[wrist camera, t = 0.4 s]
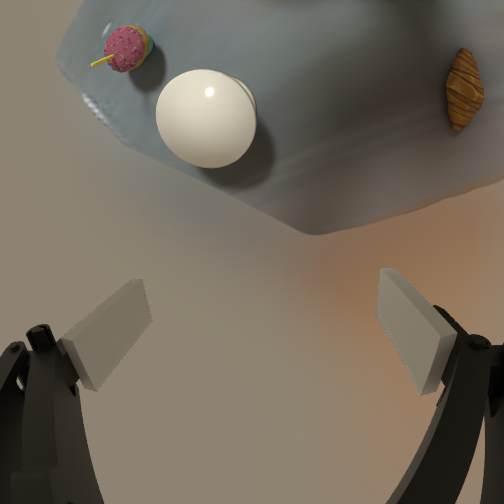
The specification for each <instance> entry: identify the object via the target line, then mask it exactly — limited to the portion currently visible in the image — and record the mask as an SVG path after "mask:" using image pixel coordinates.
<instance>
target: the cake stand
mask: <svg viewBox="0 0 504 504" xmlns="http://www.w3.org/2000/svg"><path fill="white" fill-rule="evenodd" d="M156 121H157V126H158V130H159V132H160V135H161V137H162V139H163V141H164V142H165V144H166V145H167V146H168V148H169V149H170V150H171V151H172V152H173V153H174V154H175V155H176V156H178V157H179V158H181V159H182V160H184V161H185V162H187V163H190V164H192V165H195V166H198V167H203V168H218V167H223V166H226V165H229V164H231V163H233V162H235V161H236V160H238V159H239V158H240V157H241V156H242V155H243V154H244V153H245V152H246V151H247V149H248V148H249V146H250V145H251V143H252V141H253V139H254V136H255V133H256V127H257V116H256V102H255V98H254V96H253V93H252V92H251V90H250V89H249V88H248V86H247V85H246V84H245V83H243V82H242V81H241V80H239V79H237V78H235V77H232V76H229V75H227V74H225V73H222V72H219V71H216V70H211V69H197V70H193V71H189V72H186V73H183V74H181V75H179V76H177V77H175V78H174V79H173V80H171V81H170V82H169V83H168V84H167V85H166V86H165V88H164V89H163V91H162V92H161V94H160V96H159V99H158V102H157V107H156Z"/></svg>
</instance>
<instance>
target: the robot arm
mask: <svg viewBox="0 0 504 504" xmlns="http://www.w3.org/2000/svg"><path fill="white" fill-rule="evenodd" d="M376 316H377V317H378V319H379V321H380V322H381V324H382V326H383V328H384V329H385V331H386V333H387V334H388V336H389V338H390V340H391V341H392V343H393V345H394V347H395V349H396V350H397V352H398V354H399V356H400V358H401V360H402V361H403V363H404V365H405V367H406V368H407V371H408V373H409V375H410V377H411V378H412V380H413V382H414V384H415V386H416V388H417V390H418V392H419V394H420V396H421V395H425V394H429V393H432V392H436V390H437V388H438V386H439V384H440V381H441V380H442V382H443V384H444V385H445V388H444V390H443V392H442V394H441V396H440V399H439V401H438V403H437V405H436V406H437V408H436V411H435V413H434V416H433V418H432V420H431V423H430V425H429V427H428V430H427V432H426V434H425V436H424V439H423V441H422V443H421V445H420V447H419V449H418V451H417V453H416V455H415V457H414V459H413V460H412V462H411V464H410V466H409V468H408V469H407V471H406V473H405V475H404V476H403V478H402V479H401V481H400V483H399V485H398V486H397V488H396V489H395V491H394V492H393V494H392V495H391V497H390V498H389V500H388V501H387V503H386V504H455V503H456V500H457V498H458V496H459V493H460V491H461V489H462V486H463V484H464V481H465V478H466V476H467V473H468V471H469V467H470V465H471V462H472V459H473V455H474V452H475V448H476V445H477V442H478V438H479V434H480V430H481V426H482V421H483V416H484V418H485V463H484V477H483V487H482V494H481V502H480V504H504V343H503V345H491V343H490V341H489V340H488V339H486V338H485V337H483V336H480V335H476V334H471V335H469V334H467V332H466V331H465V330H464V329H463V328H462V327H461V326H460V325H459V324H458V323H457V322H456V321H455V320H454V319H453V318H452V317H450V315H449V314H448V313H447V312H446V311H445V310H444V309H442V308H441V307H439V306H437V305H433V306H432V305H431V304H430V303H429V302H428V301H427V300H426V299H425V298H424V297H423V296H422V295H421V294H420V293H419V292H418V291H417V290H416V289H415V288H414V287H413V286H412V285H411V284H410V283H409V282H408V281H407V280H406V279H404V277H403V276H401V275H400V274H399V273H398V272H397V271H396V270H395V269H394V268H381V269H380V278H379V289H378V300H377V308H376ZM151 322H152V317H151V313H150V310H149V305H148V301H147V297H146V293H145V289H144V284H143V281H142V279H132V280H130V281H129V282H128V283H126V284H125V285H124V286H123V287H121V288H120V289H119V290H117V291H116V292H115V293H114V294H113V295H111V296H110V297H109V298H108V299H106V300H105V301H104V302H103V303H101V304H100V305H99V306H98V307H96V308H95V309H94V310H93V311H92V312H90V313H89V314H88V315H87V316H86V317H84V318H83V319H82V320H81V321H80V322H78V323H77V324H76V325H75V326H74V327H73V328H71V329H70V330H69V331H68V332H67V333H66V334H64V335H63V336H62V337H61V338H60V339H59V340H58V341H57V342H56V341H55V339H54V336H53V334H52V331H51V329H50V326H49V325H47V324H41V325H37V326H35V327H33V328H31V329H30V330H29V331H28V332H27V333H26V336H27V338H28V340H29V343H30V345H31V347H32V349H33V351H28V350H27V348H26V346H25V343H24V342H22V341H18V342H13V343H11V344H10V345H9V346H8V347H7V348H6V349H5V351H4V352H3V354H2V356H1V357H0V504H104V501H103V498H102V496H101V493H100V490H99V486H98V483H97V480H96V477H95V473H94V470H93V465H92V462H91V458H90V453H89V449H88V445H87V440H86V435H85V429H84V424H83V417H82V411H81V403H80V396H79V389H78V386H77V384H76V382H77V380H78V379H79V378H80V380H81V382H82V384H83V386H84V388H86V389H89V390H93V391H96V392H97V391H98V390H99V388H100V387H101V386H102V384H103V383H104V382H105V380H106V379H107V378H108V377H109V375H110V374H111V373H112V371H113V370H114V369H115V367H116V366H117V365H118V364H119V362H120V361H121V360H122V359H123V357H124V356H125V355H126V353H127V352H128V351H129V350H130V348H131V347H132V346H133V345H134V343H135V342H136V341H137V340H138V338H139V337H140V336H141V335H142V333H143V332H144V331H145V329H146V328H147V327H148V326H149V325H150V324H151ZM17 377H18V379H19V381H20V382H21V384H22V386H23V388H22V390H21V389H20V388H19V386H18V385H17V382H16V380H17Z"/></svg>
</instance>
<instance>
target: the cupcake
mask: <svg viewBox="0 0 504 504" xmlns="http://www.w3.org/2000/svg"><path fill="white" fill-rule="evenodd" d="M107 39H108V40H107V42H106V44H105V50H104V52H105V58H103V59H101V60H98V61H96V62H94V63H92V64H91V66H89V67H88V68H90V67H94V66H96V65H98V64H101V63H103V62H105V61H107V63H108V65H109V66H110V68H112V69H113V70H115V71H118V72H126V71H128V70H132V69H135V68H136V67H138V66H140V65H141V64H142V62H143V61H144V59H145V57H146V56H147V55H149V54H150V52H151V51H152V48H153V40H152V38H151V37H150V36H149V35H148V34H146V31H145V30H144V29H142V28H141V27H138V26H133V25H124V26H121V27H119V28H117V29H116V30H114V31H113V32H112V34H111V35H110V37H109V38H107ZM88 68H87V69H88Z"/></svg>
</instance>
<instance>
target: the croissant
mask: <svg viewBox="0 0 504 504" xmlns="http://www.w3.org/2000/svg"><path fill="white" fill-rule="evenodd" d="M446 94H447V99H448V106H447V109H448V114H449V119H450V124H451V127H452V128H453V129H455V130H461V129H463V128H464V127H465V126H466V125H467V123H468V122H469V121H470V120H471V118H472V117H473V115H474V114H475V112H476V111H478V110H479V109H480V108H481V106H482V103H483V100H484V89H483V86H482V84H481V82H480V77H479V73H478V70H477V66H476V63H475V60H474V58H473V56H472V54H471V52H469V51H468V50H467V49H464V48H461V49H460V50H459V52H458V53H457V55H456V57H455V59H454V61H453V63H452V70H451V71H450V73H449V76H448V79H447V82H446Z"/></svg>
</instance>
